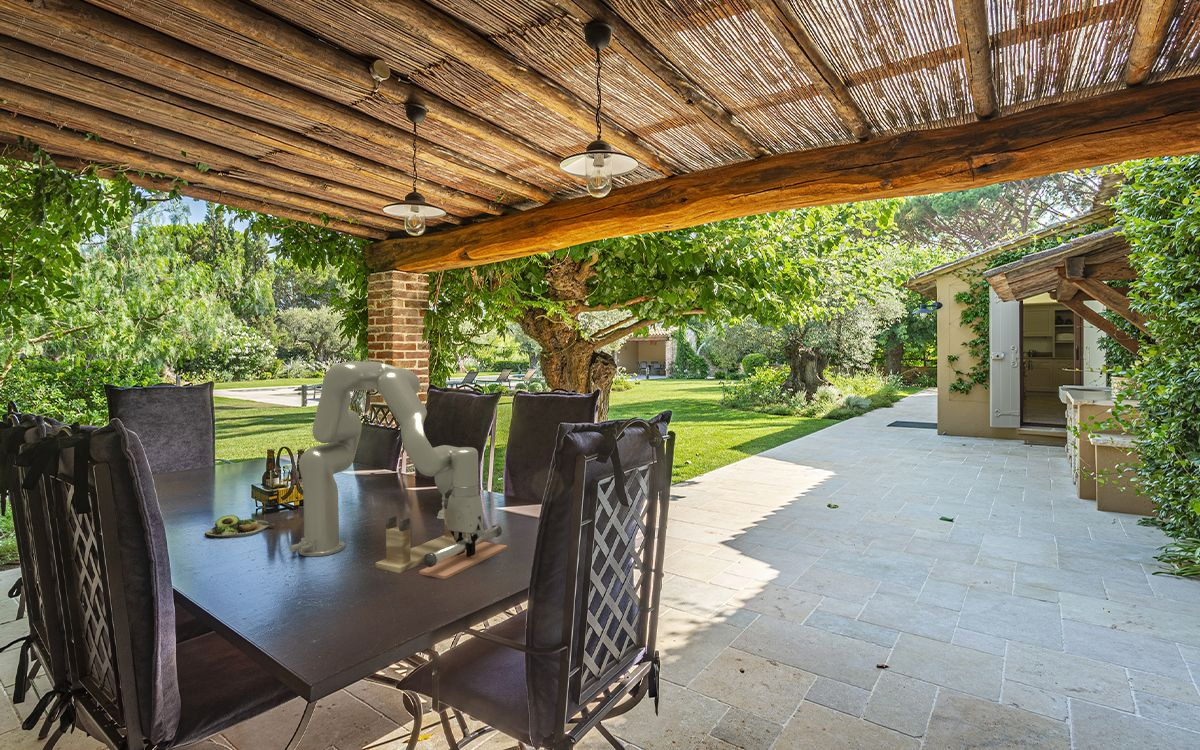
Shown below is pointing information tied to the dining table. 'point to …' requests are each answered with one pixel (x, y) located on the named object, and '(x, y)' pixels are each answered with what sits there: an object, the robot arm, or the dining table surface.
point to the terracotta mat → (462, 561)
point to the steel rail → (459, 547)
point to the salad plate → (236, 527)
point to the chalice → (443, 488)
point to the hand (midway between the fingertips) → (465, 554)
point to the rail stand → (399, 545)
